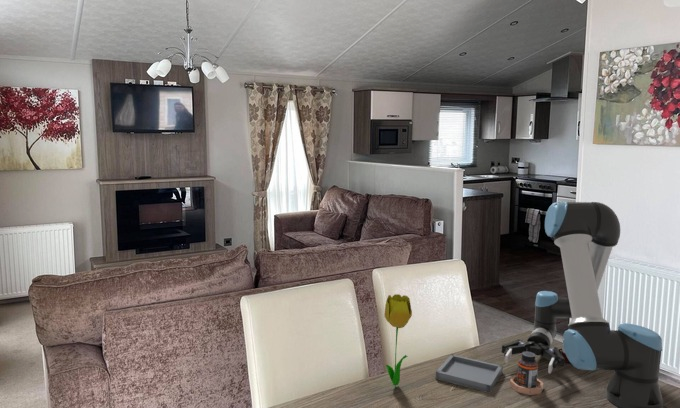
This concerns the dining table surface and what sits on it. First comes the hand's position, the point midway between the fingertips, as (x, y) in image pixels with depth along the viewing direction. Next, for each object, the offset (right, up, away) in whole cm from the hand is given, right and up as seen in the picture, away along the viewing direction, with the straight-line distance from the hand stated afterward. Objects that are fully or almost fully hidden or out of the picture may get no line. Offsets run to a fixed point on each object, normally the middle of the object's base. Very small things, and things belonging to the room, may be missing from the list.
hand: (527, 364), depth 169 cm
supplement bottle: (-1, -7, -2) cm, 7 cm away
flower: (-43, -7, -3) cm, 44 cm away
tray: (-18, -6, +5) cm, 19 cm away
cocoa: (+22, -5, +17) cm, 28 cm away
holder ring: (-1, -7, -2) cm, 7 cm away
